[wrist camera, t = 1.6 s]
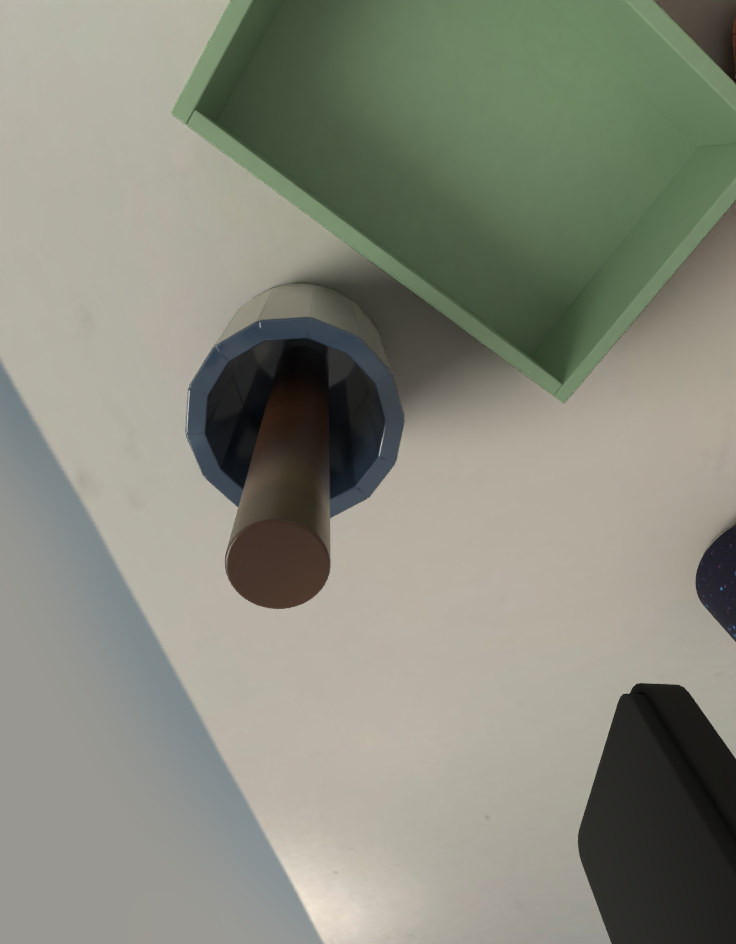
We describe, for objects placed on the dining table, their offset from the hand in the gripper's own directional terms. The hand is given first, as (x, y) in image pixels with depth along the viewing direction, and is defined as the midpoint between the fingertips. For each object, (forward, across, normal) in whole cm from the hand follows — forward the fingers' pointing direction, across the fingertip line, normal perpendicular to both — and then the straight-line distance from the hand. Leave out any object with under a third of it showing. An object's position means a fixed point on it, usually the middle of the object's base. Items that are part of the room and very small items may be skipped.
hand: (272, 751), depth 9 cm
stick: (+18, 0, 0) cm, 18 cm away
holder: (+19, 0, 0) cm, 19 cm away
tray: (+19, -5, -9) cm, 22 cm away
